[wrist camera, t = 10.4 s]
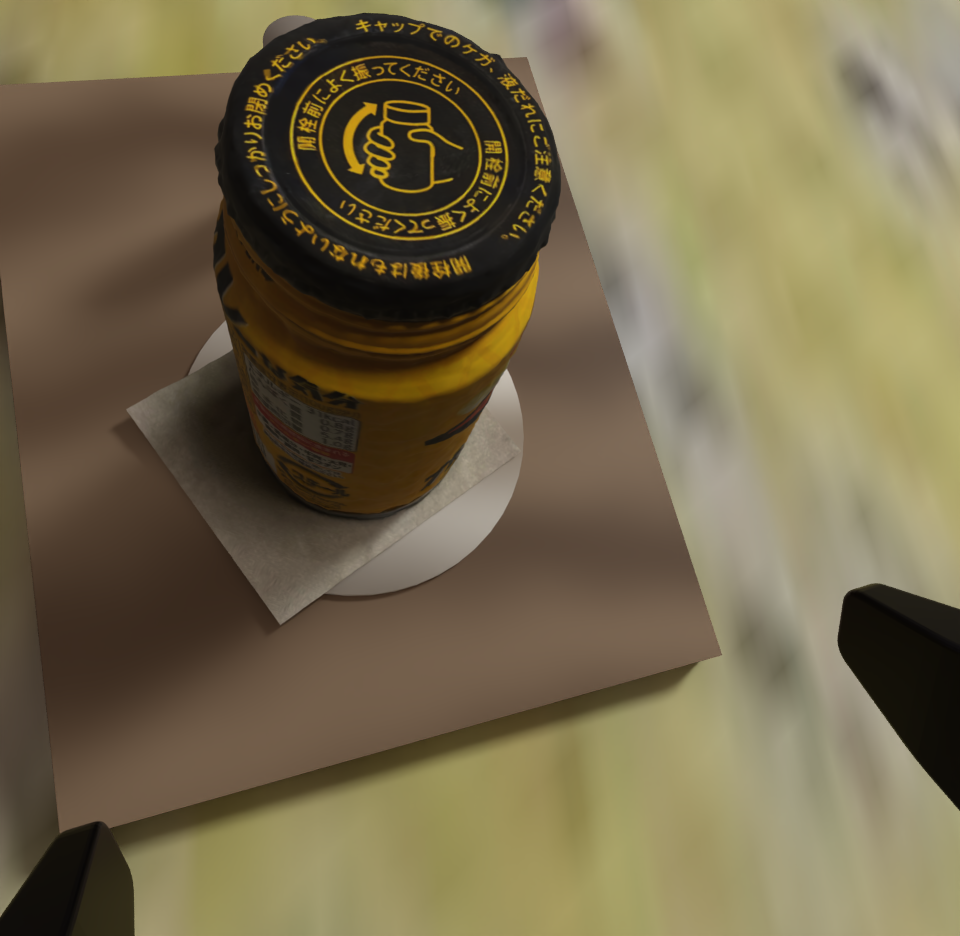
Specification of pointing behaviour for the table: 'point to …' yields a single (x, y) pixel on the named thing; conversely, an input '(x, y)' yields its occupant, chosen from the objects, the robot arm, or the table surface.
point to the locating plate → (200, 554)
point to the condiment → (359, 295)
